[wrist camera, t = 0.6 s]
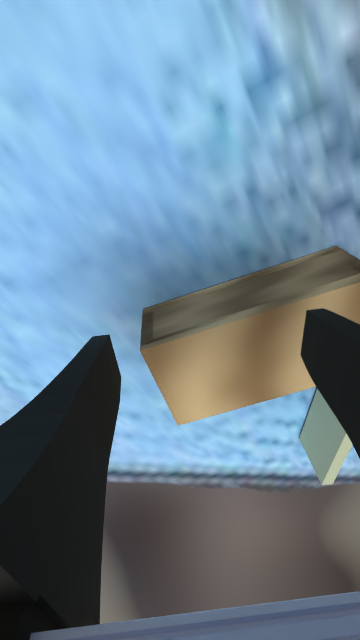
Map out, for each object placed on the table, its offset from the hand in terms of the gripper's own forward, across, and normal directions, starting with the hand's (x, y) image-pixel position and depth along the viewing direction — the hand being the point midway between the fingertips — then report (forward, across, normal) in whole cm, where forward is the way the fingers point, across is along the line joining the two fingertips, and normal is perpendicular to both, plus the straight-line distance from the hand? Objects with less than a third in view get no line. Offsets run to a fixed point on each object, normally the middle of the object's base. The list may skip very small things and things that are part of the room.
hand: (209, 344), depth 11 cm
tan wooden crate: (+10, -4, +6) cm, 12 cm away
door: (+10, -11, +14) cm, 21 cm away
